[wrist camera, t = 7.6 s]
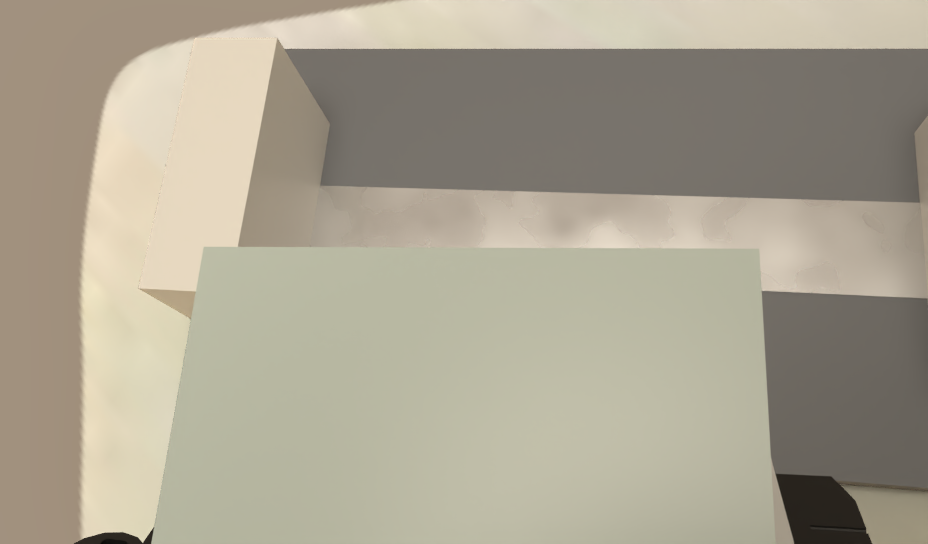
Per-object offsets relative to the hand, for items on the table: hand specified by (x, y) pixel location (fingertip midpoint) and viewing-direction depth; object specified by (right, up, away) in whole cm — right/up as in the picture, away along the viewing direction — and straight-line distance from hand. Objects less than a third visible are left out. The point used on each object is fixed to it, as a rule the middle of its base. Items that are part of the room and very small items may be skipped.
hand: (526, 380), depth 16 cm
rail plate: (+4, +3, +15) cm, 16 cm away
